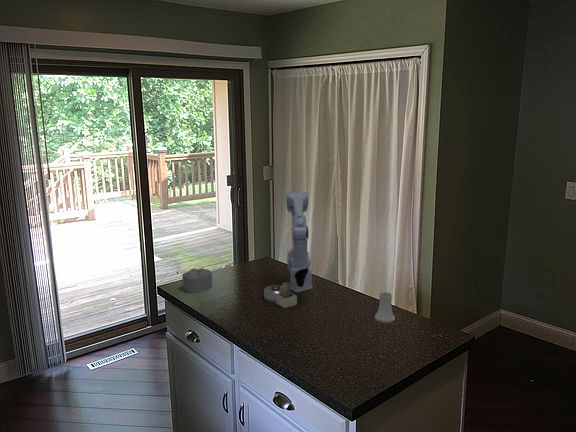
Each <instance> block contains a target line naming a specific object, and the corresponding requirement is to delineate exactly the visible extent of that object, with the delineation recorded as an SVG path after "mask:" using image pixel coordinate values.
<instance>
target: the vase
mask: <svg viewBox="0 0 576 432" xmlns="http://www.w3.org/2000/svg"><path fill="white" fill-rule="evenodd" d="M378 297H379V306H378V308H377V309H378V310H377V312H376V314H375V316H374V319H375V321H377V322H379V323H383V324H389V323H390V324H391V323H393V322H395V319H396V318H395V317H396V316H395V315H394V313H393V309H392V299H393V294H392V293H391V292H380V293H379V296H378Z"/></svg>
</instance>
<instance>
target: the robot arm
mask: <svg viewBox="0 0 576 432" xmlns="http://www.w3.org/2000/svg"><path fill="white" fill-rule="evenodd" d="M285 201H286V209H287V210H286V211H287V212H289V213H291V217H292V229H291V239H292V245H293V246H292V247H293V248H291V249H290V250H289V251H288V252H287V269H288V270H289V273H290V274H289V275H290V291H293V292H295V293H299V292H304V291H306V290H311V289H314V286H313V275H312V271H311V269H310V266H311V260H310V252H308V241H309V227H308V226H309V225H308V224H307V217H306V215H305V214H304V213H305V212H307V210H308V209H309V193H308V192H307V191H302V192H299V191H296V192H289V191H288V192H286V200H285Z"/></svg>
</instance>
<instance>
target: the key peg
mask: <svg viewBox="0 0 576 432" xmlns="http://www.w3.org/2000/svg"><path fill="white" fill-rule="evenodd" d="M290 285H291V282H288V281H285V282H282V285H281V286H282V295H283V297H285V298H286V297H289V296H290V292H291V289H290Z"/></svg>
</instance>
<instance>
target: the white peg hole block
mask: <svg viewBox="0 0 576 432" xmlns="http://www.w3.org/2000/svg"><path fill="white" fill-rule="evenodd" d="M263 296H264V298H263V299H264V300H265V301H266V302H268V303H275V304H276V305H278V306H280V307H281V308H283V309H288V308H289V307H293V306H297V305H298V295H297V294H295V293H294V292H291V291H290V296H289V297H286V298H285V297H283V295H282V285H281V284H275V285H274V284H272V285H268V286H266V287H264V289H263Z"/></svg>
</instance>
